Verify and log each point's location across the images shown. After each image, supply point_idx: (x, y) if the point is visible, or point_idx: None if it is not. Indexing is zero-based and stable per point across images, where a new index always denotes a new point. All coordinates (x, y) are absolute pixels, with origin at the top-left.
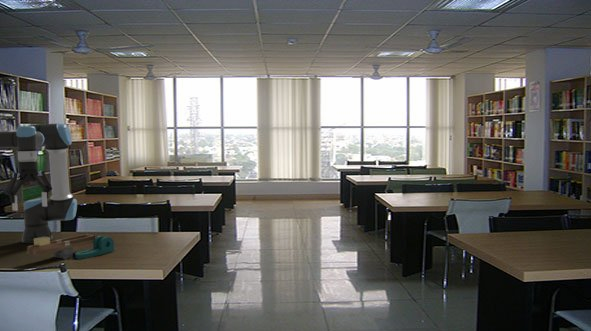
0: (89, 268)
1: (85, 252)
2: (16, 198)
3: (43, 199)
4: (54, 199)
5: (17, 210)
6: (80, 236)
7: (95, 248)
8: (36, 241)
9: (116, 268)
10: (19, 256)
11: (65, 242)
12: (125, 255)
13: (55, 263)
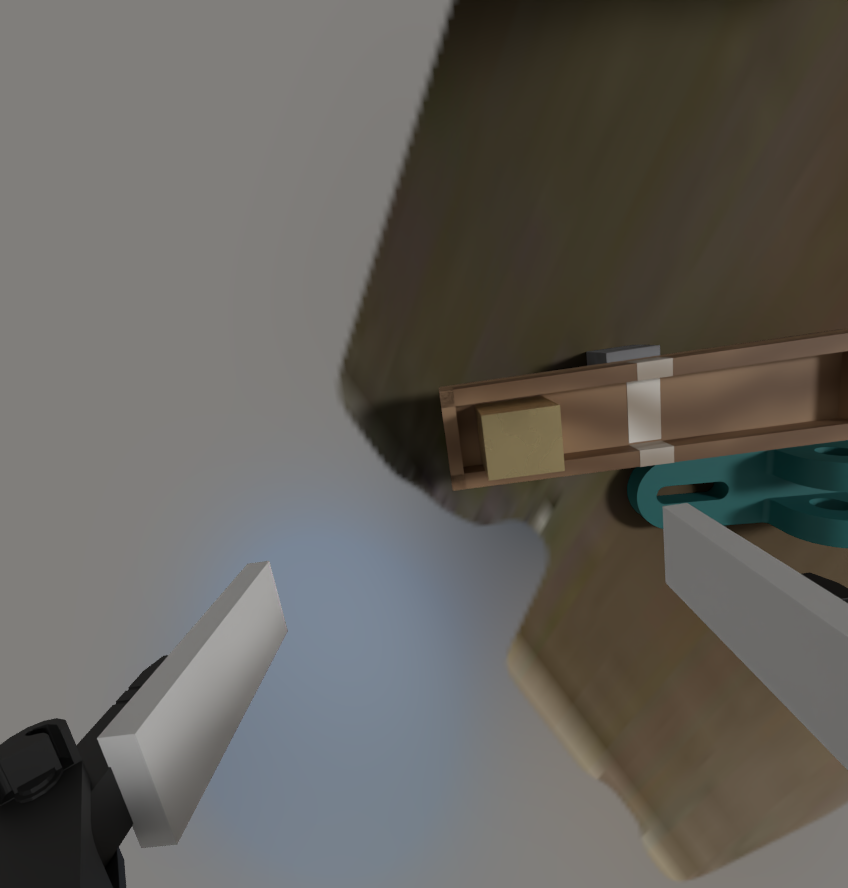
0: (555, 686)
1: (696, 482)
2: (197, 783)
3: (731, 600)
4: None
5: (283, 631)
6: (820, 354)
7: (771, 469)
8: (482, 443)
9: (613, 762)
10: (481, 158)
11: (642, 465)
12: None
13: (518, 496)
